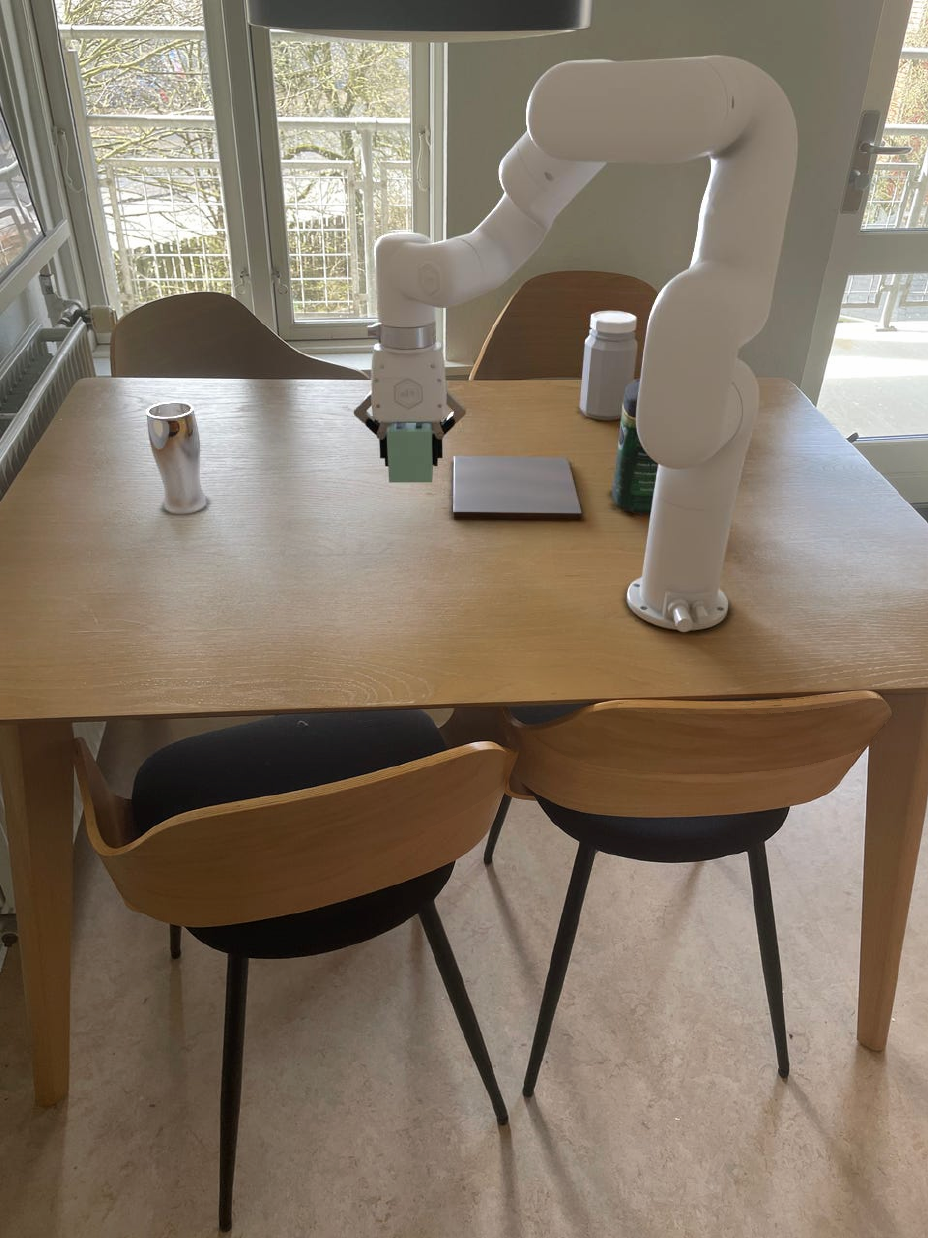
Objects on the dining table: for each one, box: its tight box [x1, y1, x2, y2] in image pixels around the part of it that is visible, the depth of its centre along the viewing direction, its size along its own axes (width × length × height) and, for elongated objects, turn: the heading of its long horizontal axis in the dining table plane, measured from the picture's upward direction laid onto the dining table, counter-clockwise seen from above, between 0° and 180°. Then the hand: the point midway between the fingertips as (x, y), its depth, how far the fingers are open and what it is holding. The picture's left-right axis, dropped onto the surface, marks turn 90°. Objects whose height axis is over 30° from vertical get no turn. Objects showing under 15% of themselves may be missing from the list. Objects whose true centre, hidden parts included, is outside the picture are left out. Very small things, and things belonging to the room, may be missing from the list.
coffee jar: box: [611, 378, 658, 515], centre depth 138 cm, size 10×8×19 cm
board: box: [453, 455, 583, 521], centre depth 146 cm, size 21×19×1 cm
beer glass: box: [145, 401, 207, 515], centre depth 136 cm, size 7×7×15 cm
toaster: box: [387, 423, 434, 484], centre depth 131 cm, size 10×6×8 cm, turn 0°
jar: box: [579, 310, 638, 421], centre depth 171 cm, size 10×10×18 cm
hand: (411, 461), depth 131 cm, fingers closed on toaster, 6 cm apart
